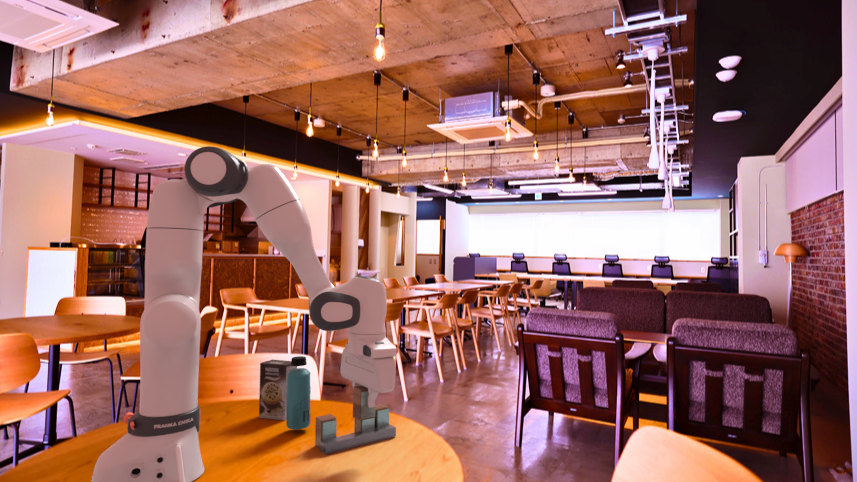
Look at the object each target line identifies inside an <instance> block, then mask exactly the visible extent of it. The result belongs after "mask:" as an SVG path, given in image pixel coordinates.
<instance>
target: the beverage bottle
mask: <svg viewBox="0 0 857 482" xmlns="http://www.w3.org/2000/svg"><path fill="white" fill-rule="evenodd" d="M290 361H291V366H297V368H296V369H292V370H291V371H289V372H288V374H287V406H286V407H287V408H286V410H287V415H286V416H287V419H286V420H285V424H286V428H287V429H289V430H290V429H291V430H302V429H307V428H308V427H309V426H310V425H311V422H312V421H311V416H312V415H311V414H312V413H311V408H312V407H311V371H309V370H308V369H307V368H304V366H307V357H306V356H301V355H299V356H294V357H291V360H290Z"/></svg>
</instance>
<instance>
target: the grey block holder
mask: <svg viewBox="0 0 857 482" xmlns="http://www.w3.org/2000/svg"><path fill="white" fill-rule="evenodd" d="M353 425H354V426H353V427H354V428H353V429H354V432H352V433H348V434H344V435H339V436H337V417H336V416H334V415H333V414H331V413H329V414H325V415H324V414H323V415H320V416H315V428H314V429H315V431H314V432H315V435H314V436H315V438H314V439H315V441H314V442H315V445H314V446H315V447H317V448H318V449H319V452H320V453H322V454H324V455H325V456H326V455H330V454H334V453H338V452H341V451H346V450H350V449H353V448H357V447H360V446H361V447H362V446H365V445H368V444H369V445H370V444H373V443H376V442H380V441H384V440H389V439H392V438H395V437H394V436H397V427H396V426H394V425H392V424H390V407H389V405H386V404H384V403H377V404H376V410H375V418H371V419H366V420H361V421H359V420H357V419H356V418H354V424H353ZM391 437H392V438H391Z"/></svg>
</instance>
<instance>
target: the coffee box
mask: <svg viewBox="0 0 857 482" xmlns="http://www.w3.org/2000/svg"><path fill="white" fill-rule="evenodd" d="M259 367H260V368H259V395H258V396H259V402H258V403H259V404H258V410H259V411H258V418H260V419H269V420H276V421H287V420H286V419H287V416H286V415H287V410H286V408H287V407H286V406H287V374H288V372H289V371H291V370H292V369H296V368H298V366H291V360H281V359H270V360H265V361H263V362H262V361H261V362H260V363H259Z"/></svg>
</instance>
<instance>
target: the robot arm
mask: <svg viewBox="0 0 857 482" xmlns="http://www.w3.org/2000/svg"><path fill="white" fill-rule="evenodd" d="M184 176H185V177H184V178H182V179H173V178H172V179H167V180H164V181H161V182H159V183H158V184H156V185H155V187H154V189H153V192H152V193H151V194H152V195H151V199H150V202H149V206H148V212H147V218H146V219H147V220H146V236H145V256H144V258H145V260H144V305H143V307H144V309H143V312H142V314H141V317H140V321H139V323H140V324H139V362H140V364H139V365H140V366H139V367H140V368H139V369H140V377H139V378H140V379H139V380H140V382H139V383H140V384H139V411H137V413H133V412H131V411H130V412H126V413H125V415H124V416H123V422H124V423H125V424H126V425H127V433H126V434H124V435H122V437H121V438H119V439H118V440H117V441H115V442H114V443H113V444H112V445H110V447H108V448H107V449H106V450H104V451H103V452H102V453H101V454H100V455H99V457H98V459H96V462H95V465H94V468H93V470H92V471H93V473H92V476H91V477H92V480H91V481H92V482H193V481H195V480H197V479H199V477H201V476H202V475H203V474H204V472H205V465H204V463H203V459H202V455H201V449H200V448H201V447H200V441H199V431H200V428H201V408H200V407H201V406H200V405H199V404H198V403H199V402H198V401H199V398H198V396H199V368H200V367H199V366H200V348H201V347H200V346H201V330H202V329H201V325H202V324H201V323H202V317H201V312H200V299H201V298H200V297H201V280H202V269H203V249H204V248H203V247H204V245H203V244H204V226H205V225H204V221H205V213H206V210H207V208H209V209H210V208H215V207H219V206H222V205H227V204H231V203H233V202H236V201H237V200H240V201H242V202H243V203H244V204H245V205H246V206H247V208H248V209H249V212H251V215H252V216H253V218H254V221H255V223H256V224H257V226H258V228H259V230H260V231H261V233H262V234H263V235H264V237H265V238H266V240H267V241H269V243H270V245H271V246H273V248H274V249H276V250H277V251H278V252H279V253H281V254H282V256H284V257H285V258H286V259H287V260H288V261H289V262H290V264H291V265H292V267H293V268H294V270H295V273H296V274H297V277H298V278H299V280H300V281H301V283H302V286H303V287H304V289H305V290H306V291H305V292H306V293H307V297H308V310H309V312H308V313H309V317H310V318H309V319H310V320H311V322H312V323H313V325H314V326H315V327H317V328H318V329H319V330H321V331H325V332H336V331H339V330H344V329H345V330H346V329H348V337H347V338H348V340H347V342H346V343H345V346H344V348H343V349H342V352H341V359H340V360H341V361H340V369H339V370H340V376H341V377H342V378H344V379H346V380H349V381H350V382H351V385H352V390H353V391H354V387H355V386H364V387H367V388H368V393H369V396H368V399H366V406H367V407H369V408H372V407H375V401H376V402H377V398H378V395H379V394H385V393H391V392H393V390H394V389H395V387H396V375H397V374H396V373H397V370H396V369H397V368H396V367H397V365H396V360H395V357H396V356H397V354H398V348H397V347H396V346H395V345H394V344H393V343H392V341H390V340H389V339H388V337H387V336H386V334H387V330H386V329H387V328H386V325H385V320H386V317H387V308H388V304H387V289H386V286H385V284H384V282H383V281H381V280H380V279H378V278H373V277H370V276H364V275H355V276H353V277H352V278H351V279H348V280H347V281H346V282H344V283H341V284H339V285H337V286H336V285H334V284H333V283H332V281H331V280H330V278H329V276H328V275H327V272H326V270H325V269H324V267H323V265H322V263H321V261H320V259H319V257H318V255H317V253H316V250H315V247H314V241H313V235H312V226H311V223H310V219H309V216H308V213H307V212H306V210H305V206H304V205H303V203H302V200H301V199H300V197H299V195H298V193H297V191H296V190H295V188H294V186H293V185H292V184H291V183H290V181H289V180H288V178H287V177H286V175H285V174H284V172H282V171H281V169H280V168H279V166H276V165H274V164H269V163H265V164H259V165H255V166H253V167H248V165H247V163H245V162H244V161H242V160H241V159H240V158H238V157H236V156H235V155H233V154H232V153H231V152H229V151H227V150H225V149H223V148H220V147H217V146H210V145H208V146H203V147H198V148H197V149H195V150H193V151H192V152H191V153H190V154H189V155H188V157H187V158H186V161H185V163H184Z"/></svg>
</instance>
